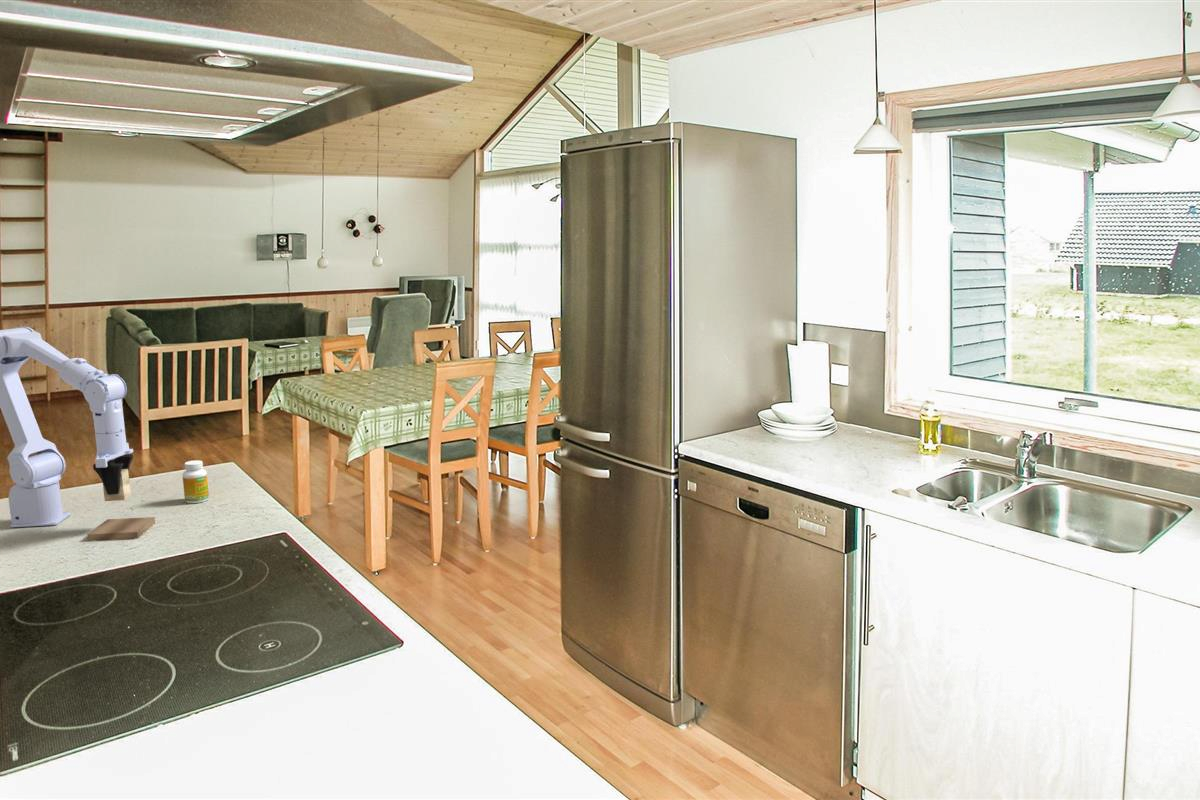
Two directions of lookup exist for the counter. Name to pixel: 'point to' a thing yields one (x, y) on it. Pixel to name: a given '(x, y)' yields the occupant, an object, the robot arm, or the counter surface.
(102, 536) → the walnut block
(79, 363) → the robot arm
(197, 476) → the supplement bottle
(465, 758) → the counter surface
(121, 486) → the birch block
